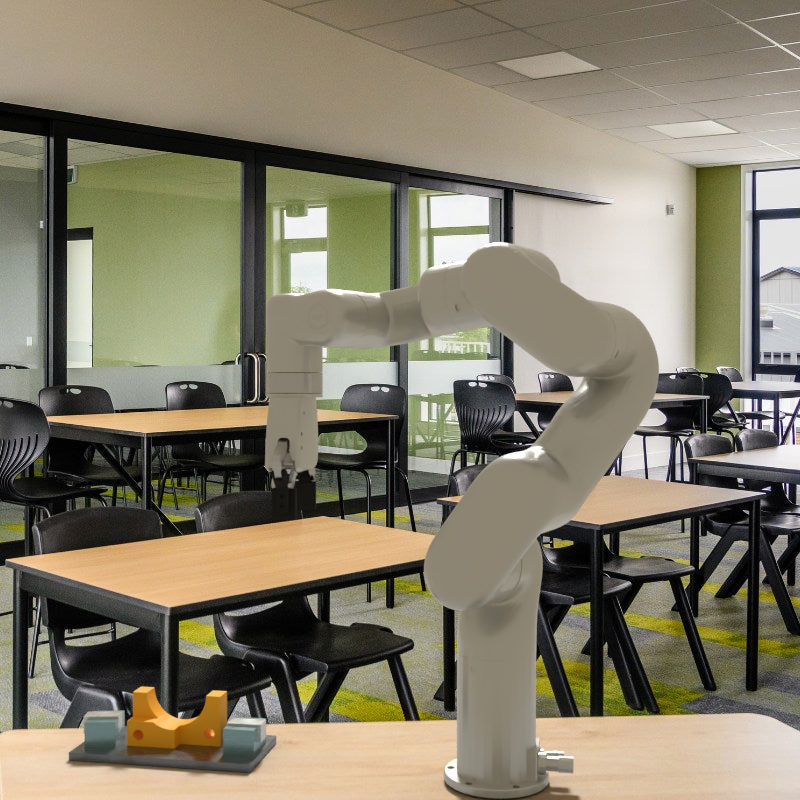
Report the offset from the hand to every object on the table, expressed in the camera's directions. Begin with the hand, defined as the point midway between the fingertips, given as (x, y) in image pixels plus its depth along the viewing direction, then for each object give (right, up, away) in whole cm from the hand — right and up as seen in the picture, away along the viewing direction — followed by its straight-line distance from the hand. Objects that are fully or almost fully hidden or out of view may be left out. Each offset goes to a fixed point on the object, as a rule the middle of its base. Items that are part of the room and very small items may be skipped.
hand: (294, 514), depth 144 cm
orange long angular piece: (-15, -30, -4) cm, 33 cm away
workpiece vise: (-15, -30, -4) cm, 34 cm away
